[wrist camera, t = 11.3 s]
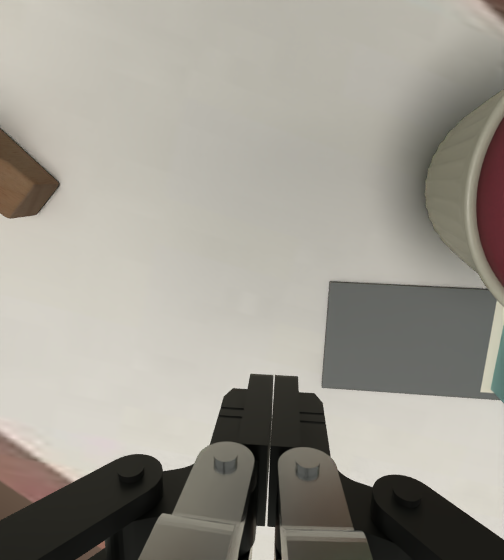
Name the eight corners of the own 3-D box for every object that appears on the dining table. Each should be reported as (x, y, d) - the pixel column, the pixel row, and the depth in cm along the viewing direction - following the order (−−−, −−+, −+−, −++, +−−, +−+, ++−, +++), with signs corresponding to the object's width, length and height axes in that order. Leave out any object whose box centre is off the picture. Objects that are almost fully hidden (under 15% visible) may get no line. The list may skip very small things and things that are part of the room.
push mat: (329, 281, 41) (330, 282, 41) (628, 296, 39) (632, 297, 38) (321, 385, 44) (321, 387, 43) (600, 405, 42) (603, 407, 41)
